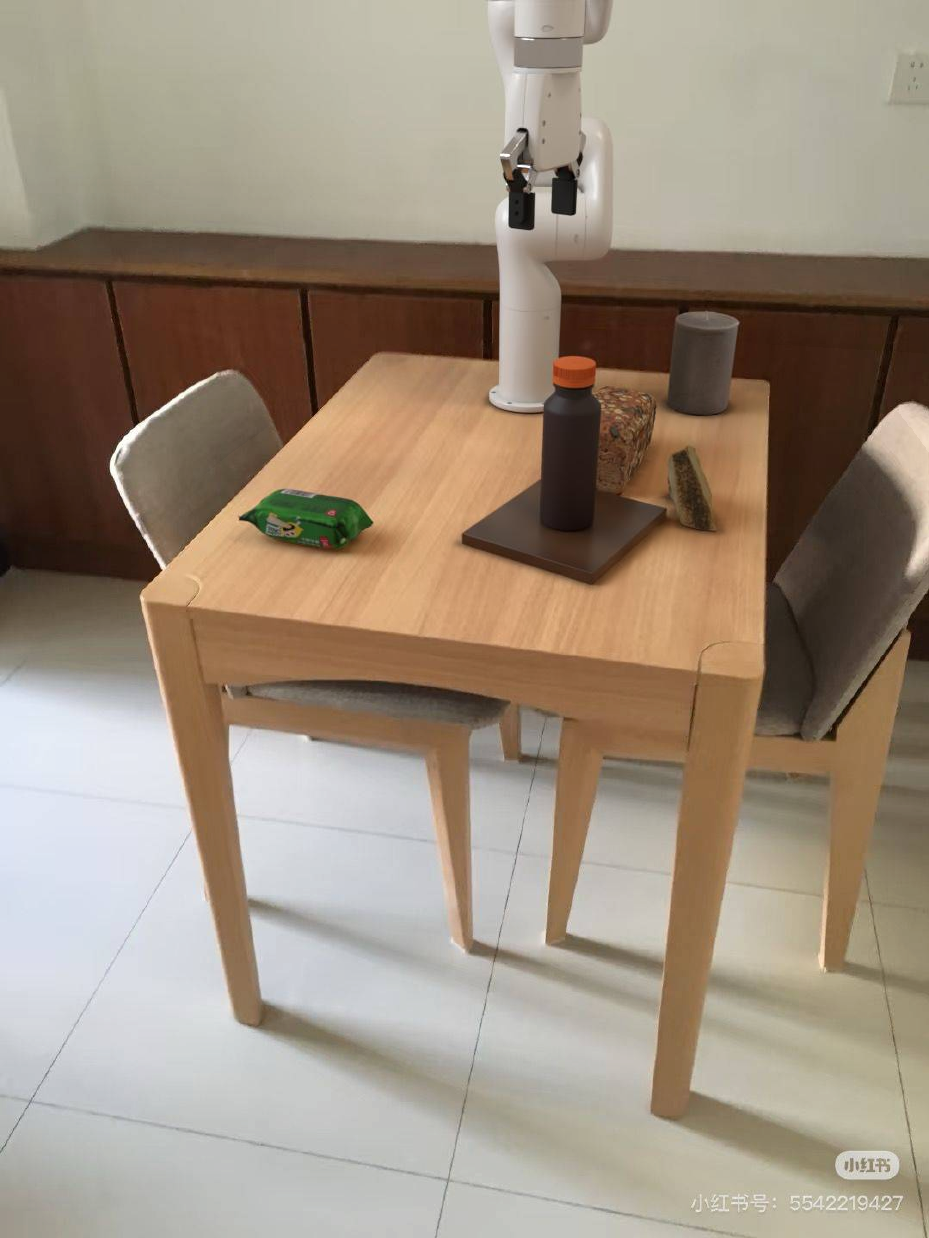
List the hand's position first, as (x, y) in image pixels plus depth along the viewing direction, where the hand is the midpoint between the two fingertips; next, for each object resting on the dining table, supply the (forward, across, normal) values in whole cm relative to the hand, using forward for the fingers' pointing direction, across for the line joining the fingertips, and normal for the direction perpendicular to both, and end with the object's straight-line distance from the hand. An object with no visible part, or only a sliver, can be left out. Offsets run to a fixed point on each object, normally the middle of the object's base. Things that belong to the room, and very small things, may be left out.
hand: (542, 221), depth 121 cm
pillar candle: (+34, -41, +6) cm, 54 cm away
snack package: (+34, +28, -16) cm, 47 cm away
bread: (+34, -11, +5) cm, 37 cm away
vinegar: (+33, +9, +10) cm, 36 cm away
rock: (+34, -5, +21) cm, 40 cm away
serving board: (+34, +9, +10) cm, 37 cm away
